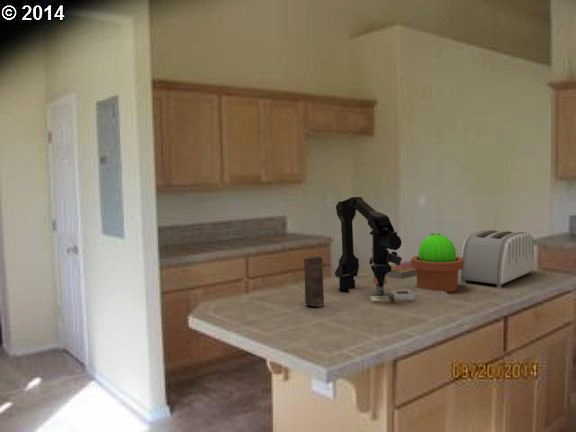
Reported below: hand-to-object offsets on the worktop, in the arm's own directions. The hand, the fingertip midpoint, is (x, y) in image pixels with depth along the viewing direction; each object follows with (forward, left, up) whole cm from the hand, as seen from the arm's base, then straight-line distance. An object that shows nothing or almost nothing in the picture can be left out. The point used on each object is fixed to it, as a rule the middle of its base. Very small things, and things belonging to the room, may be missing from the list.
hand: (379, 285), depth 214 cm
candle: (-26, -4, -7) cm, 28 cm away
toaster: (+64, +44, -7) cm, 78 cm away
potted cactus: (+29, +22, -7) cm, 37 cm away
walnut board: (+5, 0, -7) cm, 8 cm away
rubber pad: (0, 0, -6) cm, 6 cm away
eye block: (+9, 0, -6) cm, 11 cm away
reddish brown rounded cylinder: (0, 0, -4) cm, 4 cm away
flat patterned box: (+25, +61, -8) cm, 67 cm away
